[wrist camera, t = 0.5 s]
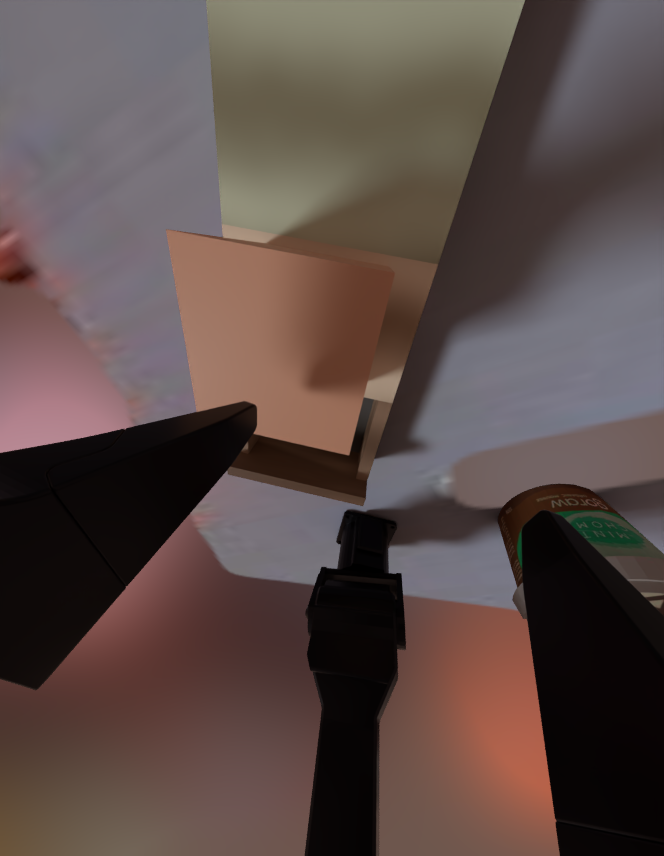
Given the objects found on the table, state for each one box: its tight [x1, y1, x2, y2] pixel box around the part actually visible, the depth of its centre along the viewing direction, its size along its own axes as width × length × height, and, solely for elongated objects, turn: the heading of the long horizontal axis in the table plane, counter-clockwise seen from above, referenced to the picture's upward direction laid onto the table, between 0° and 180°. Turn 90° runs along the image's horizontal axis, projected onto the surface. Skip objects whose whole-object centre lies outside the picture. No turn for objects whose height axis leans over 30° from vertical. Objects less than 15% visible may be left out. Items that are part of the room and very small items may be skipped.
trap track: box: [206, 0, 525, 506], centre depth 15 cm, size 36×12×6 cm, turn 171°
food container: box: [498, 484, 664, 619], centre depth 21 cm, size 12×6×10 cm, turn 110°
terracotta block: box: [166, 229, 395, 455], centre depth 13 cm, size 7×7×8 cm
